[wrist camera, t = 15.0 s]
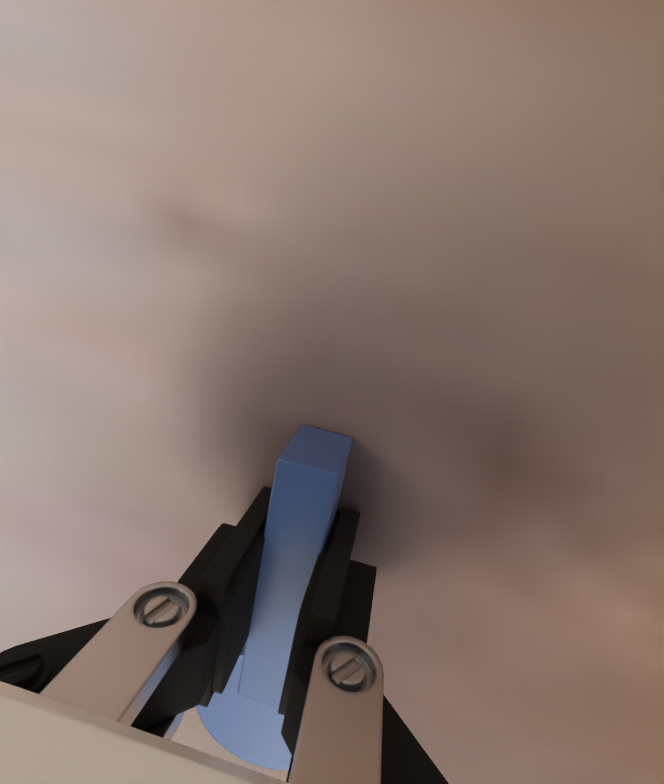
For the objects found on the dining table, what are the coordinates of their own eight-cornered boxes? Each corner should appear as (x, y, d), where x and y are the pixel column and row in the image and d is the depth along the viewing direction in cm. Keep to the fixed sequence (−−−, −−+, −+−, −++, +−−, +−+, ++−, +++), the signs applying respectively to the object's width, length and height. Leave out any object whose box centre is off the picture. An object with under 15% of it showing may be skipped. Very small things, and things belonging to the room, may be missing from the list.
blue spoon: (247, 409, 12) (210, 441, 10) (410, 450, 11) (409, 493, 9) (205, 706, 15) (171, 777, 13) (329, 749, 14) (315, 830, 12)
